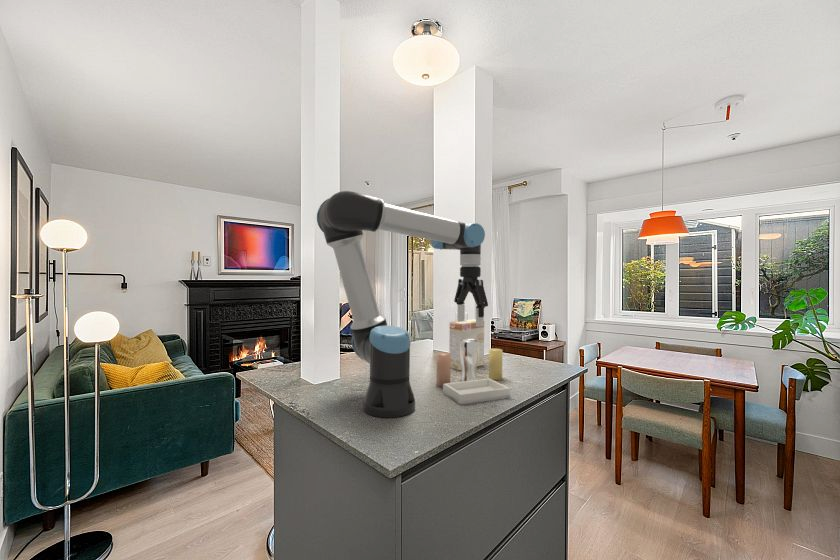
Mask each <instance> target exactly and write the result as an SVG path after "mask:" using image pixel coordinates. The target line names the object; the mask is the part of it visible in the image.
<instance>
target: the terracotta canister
mask: <svg viewBox="0 0 840 560" xmlns="http://www.w3.org/2000/svg"><path fill="white" fill-rule="evenodd" d="M451 369H452V368H451V354H450V353H449V352H437V353H436V373H435V374H436V376H435V377H436V381H435V382H436V386H437V387H441V388H443V384H446V383H451V375H452V374H451V371H452V370H451Z"/></svg>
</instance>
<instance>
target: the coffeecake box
mask: <svg viewBox="0 0 840 560" xmlns="http://www.w3.org/2000/svg"><path fill="white" fill-rule="evenodd" d="M462 339H475V340H478V347H479V356H478V362H477V367H482V366H485V325H484V326H479V327H477V326H476V318H474V319H465V321H463V322H457V320H455V321H449V341H448V342H449V352H448V353H450V354H451V369H453V370H457V371H461V372H462V367H461V361H460V340H462Z"/></svg>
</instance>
